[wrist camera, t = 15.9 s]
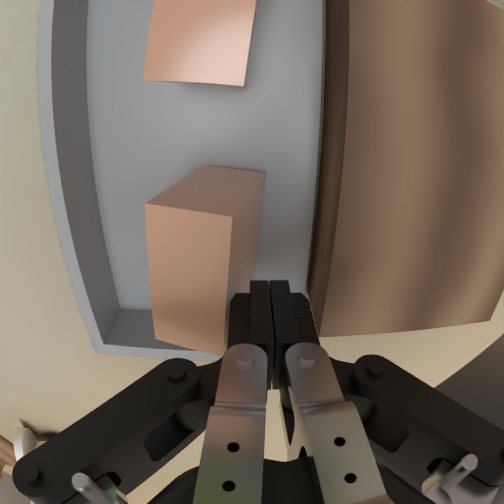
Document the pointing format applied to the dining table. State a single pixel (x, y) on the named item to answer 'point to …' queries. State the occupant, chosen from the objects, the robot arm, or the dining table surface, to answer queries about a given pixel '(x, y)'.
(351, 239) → the brown slab
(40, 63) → the box
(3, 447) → the candle holder
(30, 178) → the dining table surface
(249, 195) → the tile
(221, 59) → the tile
